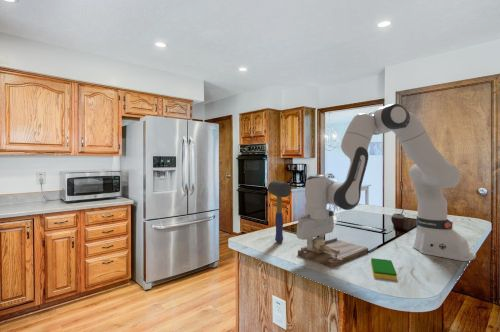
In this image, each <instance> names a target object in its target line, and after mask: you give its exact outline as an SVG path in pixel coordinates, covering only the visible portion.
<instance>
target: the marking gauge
mask: <svg viewBox="0 0 500 332" xmlns="http://www.w3.org/2000/svg"><path fill="white" fill-rule="evenodd" d="M312 242H313V243H314V247H313V248H309V243H308V241H307V240H306V246H307V250H309V251H312V252H315V253H318V254H319V253H322V252H324V251H327V252H330V253H333V254H335V257H337V255H338V254H340V250H338V249H335V248H332V247H328V246H325V239H321V238H319V237H318V236H316V237H313V240H312Z"/></svg>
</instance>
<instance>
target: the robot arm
mask: <svg viewBox="0 0 500 332" xmlns="http://www.w3.org/2000/svg"><path fill="white" fill-rule="evenodd" d="M391 131H392V132H393V133H394V134H395V135H396V137H397V139H398V141H399V143H400V146H401V147H402V149H403V151H404V153H405V155H406V157H407V158H408V159H409V160H410V161H412V162H413V163H414V164H413V165H411V167H410V168H409V170H408V176H409V178H410V180H411V182H412V183H413V186H414V191H415V195H416V198H417V216H416V219H415V228H416V232H415V238H414V242H413V245H412V247H413V248H414V249H415V250H417V251H418V252H420V253H421V254H425V255H428V256H429V255H430V256H435V257H439V258H445V259H448V260H449V259H451V260H456V261H460V262H470V261H473V260H475V259H476V258H477V254H476V252H474V251H472V250H470V245H469V243H468V240H467V239H466V238H465V237H464V236H462V235H461V234H460V233H459V232H457V231H456V230H454V229H453V224H454V221H451V220H449V219H448V201H447V199H446V197H445V196H444V195H443V192H442V189H449V188H453V187H456V186H457V185H459V183H460V181H461V177H462V173H461V171H460V169H459V168H458V167H457V166H455V164H452V163H451V162H450V161H448V160H447V158H445V156H443V154H442V153H441V152H440V151H439V150H438V148H436V146H435V144H434V143H433V142H432V139H431V137H430V136H429V134H428V131H427V130H426V128H425V127H424V125H423V124H422V122H421V120H420V119H419V118H418V117H417V115H416V114H414V113H413V112H412V111H411V112H410V111H408V110H407V108H405V107H404V106H403V105H402V104H400V103H390V104H387V105H385V106H381V107H379V108H377V109H376V110H375V111H373V112H370V113H363V112H362V113H360V112H359V113H357V114H356V115H355V116H353V118H352V119H351V121H350V122H349V124H348V126H347V128H346V129H345V132H344V135H343V137H342V140H341V145H340V149H341V151H342V153H343V154H344V155H345V156H346V157H347V158H348V159H349V161H350V163H349V168H348V171H347V175H346V178H345V180H344V181H343V182H342V183H341V182H336V181H334V180H332V179H330V178H328V177H327V176H326V175H325V174H320V173H319V174H312V175H309V176H308V177H307V178H306V181H305V186H304V188H305V189H304V196H305V197H304V198H305V205H304V215H301V216H300V217H299V219H298V221H297V226H296V237H297V239H299V240H301V241H302V240H304V241H305V240H306V242H307V241H308V243H309V248H313V247H314V243H313V242H312V240H313V237H318V238H321V239H324V238H325V235H327V234H330V233H333V231H334V227H335V225H334V224H335V221H334V216H335V212H334V210H331V209H327V205H328V204H330V205H332V206H336V207H338V208H340V209H342V210H345V211H349V210H353V209H355V208H356V207H357V206H358V204H359V203H360V200H361V193H362V192H361V191H362V184H363V180H364V177H365V172H366V169H367V165H368V161H369V146H370V145H371V144H370V143H371V141H372V138H373V136H375V135H381V134H386V133H389V132H391ZM324 240H325V239H324Z"/></svg>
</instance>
